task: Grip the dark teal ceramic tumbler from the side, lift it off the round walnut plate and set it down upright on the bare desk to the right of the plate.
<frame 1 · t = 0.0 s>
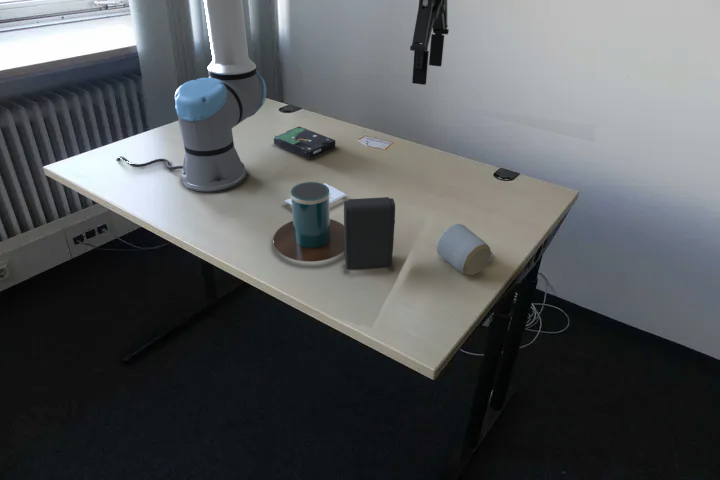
hand: (427, 74, 110), 28 cm above the table, tool pointing down, fingers open, 13 cm apart
tumbler: (312, 237, 106), point 1 cm above the table, touching plate
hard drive: (316, 204, 120), on the table
card reader: (368, 268, 100), on the table
disk drive: (304, 147, 146), on the table
plate: (312, 243, 107), on the table
ceramic mug: (465, 263, 102), on the table
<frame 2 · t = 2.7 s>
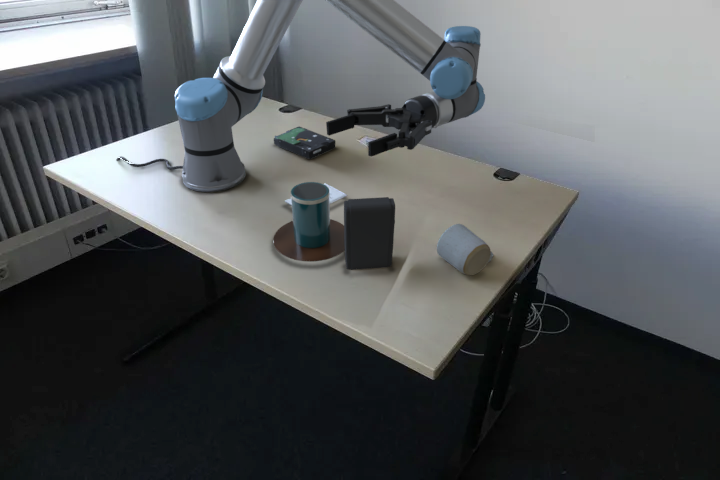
hand: (347, 138, 101), 20 cm above the table, tool horizontal, fingers open, 13 cm apart
nothing on the table moved.
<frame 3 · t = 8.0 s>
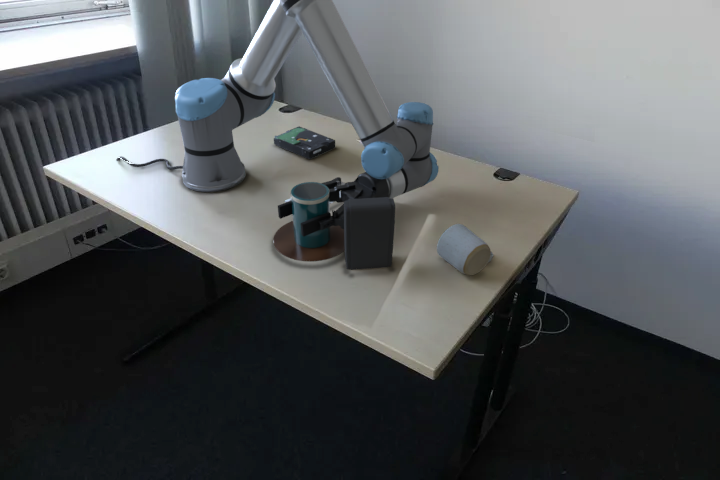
hand: (290, 220, 100), 7 cm above the table, tool horizontal, fingers closed on tumbler, 7 cm apart
tumbler: (312, 237, 106), point 1 cm above the table, touching gripper, plate
everything else where it was.
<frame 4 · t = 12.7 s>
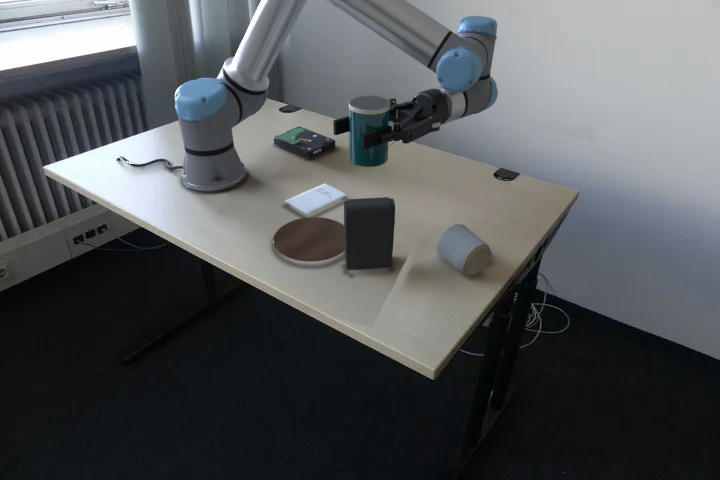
hand: (348, 134, 93), 24 cm above the table, tool horizontal, fingers closed on tumbler, 7 cm apart
tumbler: (368, 158, 99), point 18 cm above the table, touching gripper
everything else where it was.
when the fingers open (6 cm above the table, at t = 17.7 s): tumbler stays where it is, on the table.
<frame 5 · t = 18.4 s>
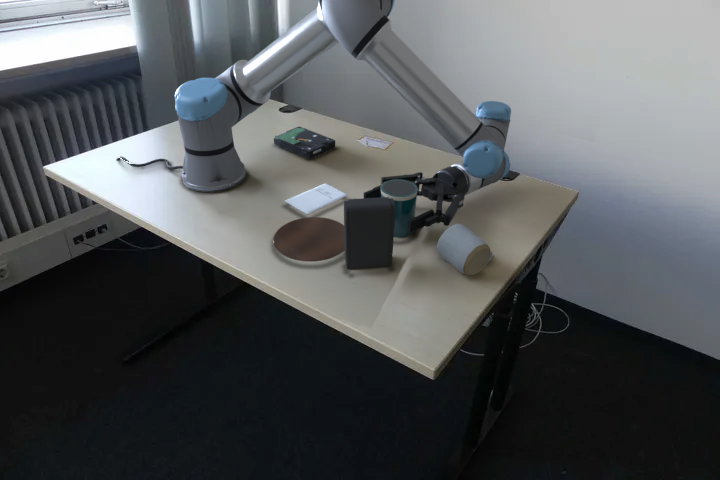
hand: (385, 212, 105), 6 cm above the table, tool horizontal, fingers open, 13 cm apart
tumbler: (396, 233, 110), on the table
everything else where it was.
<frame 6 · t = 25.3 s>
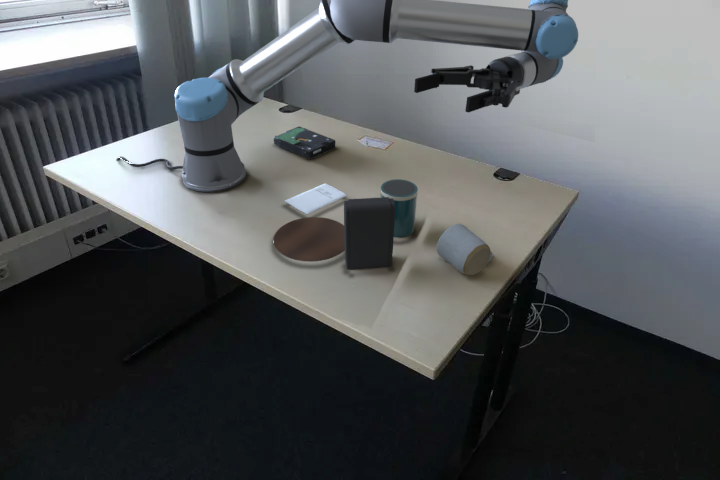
hand: (440, 95, 100), 28 cm above the table, tool horizontal, fingers open, 13 cm apart
nothing on the table moved.
at the end: tumbler inside the target area (0.0 cm from its centre), on the table; tumbler touching table; tumbler tilted 0° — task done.
